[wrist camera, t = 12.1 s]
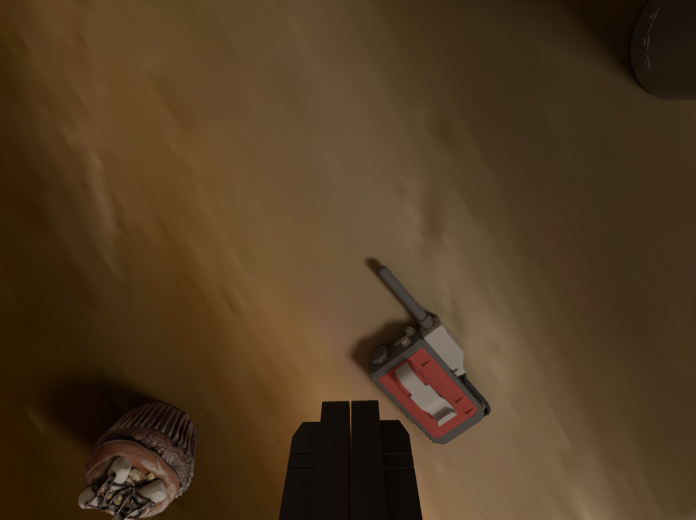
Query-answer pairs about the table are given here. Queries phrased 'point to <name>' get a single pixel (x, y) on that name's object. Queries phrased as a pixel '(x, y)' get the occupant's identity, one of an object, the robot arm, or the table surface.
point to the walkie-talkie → (427, 374)
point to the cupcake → (140, 462)
